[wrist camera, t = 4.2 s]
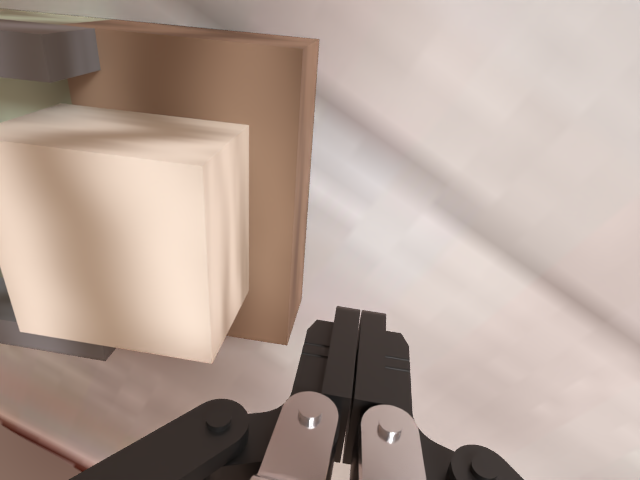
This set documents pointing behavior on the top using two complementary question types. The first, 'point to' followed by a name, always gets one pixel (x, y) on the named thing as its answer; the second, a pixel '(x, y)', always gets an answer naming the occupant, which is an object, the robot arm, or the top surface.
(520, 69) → the top surface
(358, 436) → the robot arm
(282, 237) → the lane
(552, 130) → the top surface
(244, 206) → the block
